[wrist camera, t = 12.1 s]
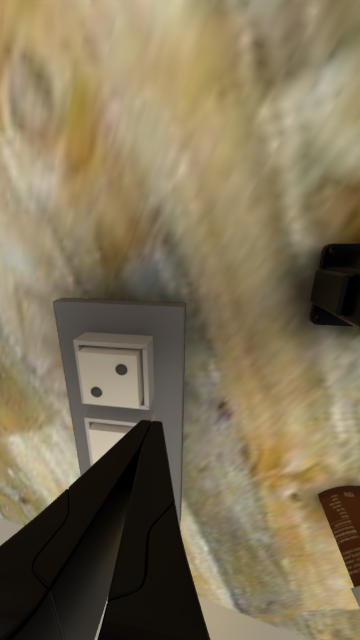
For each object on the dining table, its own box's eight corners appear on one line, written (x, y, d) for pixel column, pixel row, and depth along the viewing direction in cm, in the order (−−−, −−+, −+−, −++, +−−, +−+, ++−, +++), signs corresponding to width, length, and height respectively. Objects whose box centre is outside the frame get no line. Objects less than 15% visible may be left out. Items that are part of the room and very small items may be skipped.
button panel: (185, 303, 20) (181, 313, 17) (181, 514, 29) (177, 548, 26) (62, 297, 22) (36, 306, 18) (92, 501, 30) (78, 532, 27)
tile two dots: (143, 345, 20) (135, 356, 18) (145, 394, 21) (138, 409, 19) (89, 342, 20) (76, 352, 18) (94, 389, 22) (83, 403, 20)
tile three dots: (146, 419, 22) (140, 435, 20) (147, 457, 24) (142, 476, 22) (98, 414, 23) (87, 430, 21) (102, 452, 24) (93, 470, 22)
